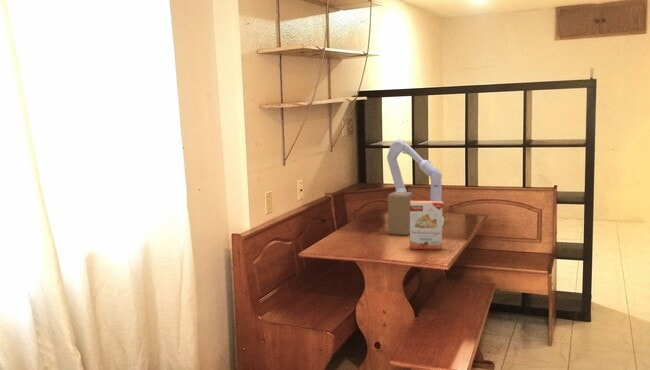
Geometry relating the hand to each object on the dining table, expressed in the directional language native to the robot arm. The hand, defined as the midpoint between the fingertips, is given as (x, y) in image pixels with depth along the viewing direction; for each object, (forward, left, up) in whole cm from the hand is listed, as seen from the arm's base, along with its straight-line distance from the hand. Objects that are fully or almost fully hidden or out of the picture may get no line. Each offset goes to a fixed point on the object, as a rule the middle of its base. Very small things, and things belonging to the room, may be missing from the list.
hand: (435, 218), depth 312 cm
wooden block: (-12, -28, -3) cm, 31 cm away
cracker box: (+6, -54, -3) cm, 54 cm away
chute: (0, -13, -2) cm, 13 cm away
